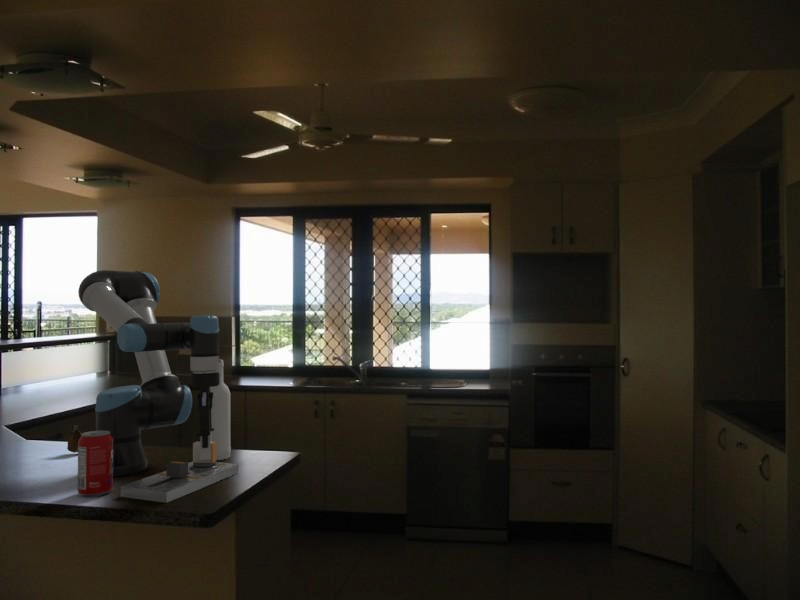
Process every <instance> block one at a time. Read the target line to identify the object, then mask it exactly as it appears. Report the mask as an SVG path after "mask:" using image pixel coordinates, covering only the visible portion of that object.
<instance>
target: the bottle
mask: <svg viewBox="0 0 800 600" xmlns="http://www.w3.org/2000/svg"><path fill="white" fill-rule="evenodd" d="M221 360H222V362H220V363H219V370H217V372H219V378H220V384H219V385H218V386H214V387H210V392H213V399H212V409H211V424H212V427H211V428H214V431H210V432H212V442H217V460H218V461H223V460H224V459H225V460H228V459H229V458H231V453H232V451H231V450H232V447H231V391H230V389H229V386H228V385H227V384H226V383H225V382H224V366H225V363H224V360H223V359H221Z"/></svg>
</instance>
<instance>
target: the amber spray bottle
mask: <svg viewBox="0 0 800 600" xmlns="http://www.w3.org/2000/svg"><path fill="white" fill-rule="evenodd" d="M79 426H80V425H77V424H76V425H73V426H72V429H71V432H73V433H72V434H71V436H70V438H68V440H67V448H66V449H67V451H69V452H71V453H78V441H79V439H80V438H81V434H82V433H83V432H81V431H80V430H78V429H79Z"/></svg>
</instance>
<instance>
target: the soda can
mask: <svg viewBox="0 0 800 600" xmlns="http://www.w3.org/2000/svg"><path fill="white" fill-rule="evenodd" d="M81 433H82V434H81V438H80V439H79V441H78V452H77V493H78V494H79V495H81V496H83V497H87V498H88V497H90V498H93V497H101V496H104V495H106V494H108V493H109V492H111V491H112V490H113V489H114V477H113V437H112V436H111V435H110V431H96V430H93V431H91V430H90V431H85V432H81Z"/></svg>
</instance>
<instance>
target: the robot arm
mask: <svg viewBox="0 0 800 600" xmlns="http://www.w3.org/2000/svg"><path fill="white" fill-rule="evenodd" d="M160 292H161V287H160V284H159V282H158V280H157V278H156V277H155V275H153V274H151V273H150V272H143V271H139V270H136V271H135V270H134V271H125V270H107V269H106V270H105V269H102V270H97V271H94V272H91V273H90V274H88V275H87V276H85V277H84V278H83V280H82V281H81V283H80V284H79V287H78V297H79V300H80V302H81V303H82V305H83V306H84V307H85V308H86V309H87V310H89V311H91V312H95V313H96V314H97V315H99V316H100V318H101V319H102V320H104V321H105V322H106V324H108V325H109V326H110V327H111V328H112V329H113V330H114V331H115V332H116V333H117V334H116V342H117V345H118V348H119V349H120V350H121V351H122V352H124V353H130V352H131V353H134V355H135V359H136V364H137V367H138V371H139V374H140V378H141V384H140V385H138V384H129V385H120V386H115V387H110V388H107V389H104V390H102V391H101V392H99V393H98V394H97V396H96V400H95V401H96V402H95V408H94V412H95V431H110V435H111V436H112V437H113V478H114V477H122V476H129V475H134V474H137V473H140V472H143V471H145V470H146V469H147V468H148V458H147V456H145V451H144V447H143V444H142V439H141V438H142V437H141V434H142V433H141V431H143V430H149V429H156V428H164V427H173V426H176V425H180V424H183V423H185V422H186V421H187V420H188V419H189V417H190V414H191V412H192V408H193V395H192V391H191V389H190V387H189V386H188V385H185V384H181V382H180V379H179V377H178V376H177V375H174V374H172V370H171V368H170V364H169V361H168V357H167V354H166V351H180V350H190V356H189V357H190V358H189V360H190V363H189V364H190V365H189V366H190V371H191V374H190V386H191V387H192V388H199V389H200V391H199V392H198V393H197V396H196V397H197V398H196V399H197V401H198V410H199V414H198V415H199V433H196V434H197V437H199V441H200V460H210V459H211V442H212V432H210V431H214V428H211V427H212V424H211V409H212V399H213V392H210V387H214V386H218V385H219V384H220V378H219V372H217V370H219V363H220V362H222V360H223V359H221V358H220V331H221V330H220V325H219V317H218V316H216V315H192V316H191V317H190V319H189V320H190V322H172V323H171V322H170V323H169V322H168V323H167V322H165V323H163V322H159V323H158V322H157V319H156V315H155V313H154V311H155V310H156V308H157V305H158V304H159V302H160V299H161V293H160Z"/></svg>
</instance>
